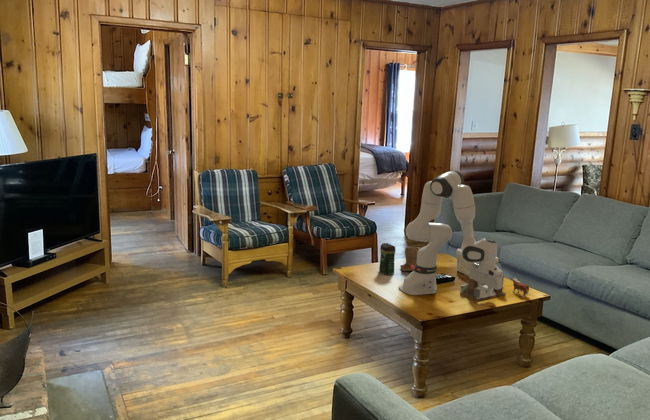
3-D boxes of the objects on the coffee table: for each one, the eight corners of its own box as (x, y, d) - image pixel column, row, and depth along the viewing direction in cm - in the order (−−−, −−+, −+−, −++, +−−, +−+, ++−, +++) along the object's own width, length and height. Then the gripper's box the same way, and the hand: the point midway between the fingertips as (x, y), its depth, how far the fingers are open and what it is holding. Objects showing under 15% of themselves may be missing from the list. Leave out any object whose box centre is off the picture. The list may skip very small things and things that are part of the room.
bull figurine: (513, 289, 318) (515, 276, 316) (529, 297, 305) (531, 283, 304) (507, 290, 316) (509, 276, 314) (523, 298, 304) (525, 284, 302)
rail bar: (478, 298, 292) (479, 290, 291) (473, 295, 295) (474, 288, 294) (493, 293, 298) (494, 286, 297) (488, 291, 301) (489, 284, 300)
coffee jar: (396, 274, 337) (397, 245, 334) (385, 275, 334) (386, 246, 330) (387, 269, 346) (389, 241, 342) (377, 271, 343) (378, 242, 339)
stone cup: (416, 265, 356) (418, 243, 353) (425, 271, 345) (427, 248, 342) (395, 267, 351) (397, 245, 348) (403, 273, 340) (405, 250, 337)
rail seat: (475, 301, 297) (477, 282, 295) (460, 294, 307) (461, 275, 305) (505, 294, 308) (507, 276, 306) (489, 288, 318) (491, 270, 316)
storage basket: (498, 280, 333) (500, 257, 330) (475, 282, 327) (478, 259, 324) (474, 268, 355) (476, 246, 352) (453, 270, 349) (455, 248, 346)
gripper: (467, 262, 299) (465, 286, 303) (497, 274, 283) (494, 299, 286) (475, 261, 303) (473, 284, 306) (505, 272, 286) (502, 296, 290)
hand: (483, 291), depth 296 cm, fingers closed on rail bar, 3 cm apart
